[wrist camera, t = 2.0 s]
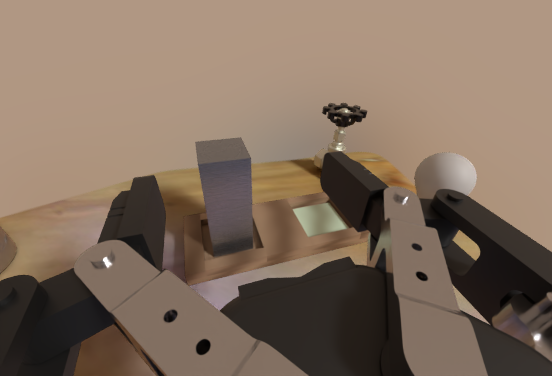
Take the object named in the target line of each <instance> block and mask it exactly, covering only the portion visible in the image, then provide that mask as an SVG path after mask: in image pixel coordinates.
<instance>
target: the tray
mask: <svg viewBox="0 0 552 376" xmlns="http://www.w3.org/2000/svg"><path fill="white" fill-rule="evenodd" d="M252 217H253V249H249V250H245V251H240V252H236V253H231V254H227V255H222V256H218V257H214V253H213V247H212V241H211V236H210V230H209V224H208V219H207V213H200V214H194V215H189V216H184V259H185V278H186V281H187V284H188V286H189V285H193V284H197V283H202V282H206V281H210V280H214V279H218V278H222V277H226V276H230V275H234V274H238V273H242V272H246V271H250V270H254V269H258V268H262V267H266V266H270V265H274V264H278V263H282V262H286V261H290V260H294V259H298V258H302V257H306V256H310V255H314V254H318V253H322V252H326V251H330V250H334V249H339V248H343V247H347V246H351V245H355V244H359V243H363V242H367V241H368V236H369V233H370V232H369V231H368V230H366V231H362V232H357V231H356V230H355V229H354V227H353V226H352V225H351V224H350V222H349V221H348V220H347V219H346V218H345V216H344V215H343V214H342V213H341V211H340V210H339V209H338V208H337V207H336V205H335V204H334V203H333V202H332V201H331V199H330V198H329V197H328V196H327V194H326V193H325V192H322V193H316V194H310V195H304V196H298V197H293V198H287V199H281V200H275V201H269V202H264V203H258V204H252Z"/></svg>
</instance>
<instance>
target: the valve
mask: <svg viewBox="0 0 552 376" xmlns="http://www.w3.org/2000/svg"><path fill="white" fill-rule="evenodd" d="M336 110H339V112H337V111H336ZM326 112H328V116H327V118H328V119H330V120H331V122H333V123H336V126H338V130H336V131H335V133H334V140H335V141H334V142H333V143H331V144H329V146H328V151H327V150H325V149H321V150H320V151H319V152H318V153H317V154H316V155H315V158H314V165H315V166H317V167H319V168H320V169H322V165H323V159H324V155H325V154H326V153H328V152H336V151H341V152H343V153H344V154H345V152H346V146H345V145H343V142H342V141H343V140H344V139H345V135H346V132H345V131H344V127H347V126H350V125H353V124H354V123H355V121H356V122H361V121H362V118H365V117H366V114H367V111H366V110H360V106H357V105H356V106H353V107H350V106H348V105H347V104H346V103H341V105H335V104H333V103H330V104H329V105H328V107H327V106H324V107H323V112H322V113H323V114H325V115H326ZM350 112H353V113H350ZM334 116H335V117H337V119H334ZM349 119H351V121H350V122H349Z"/></svg>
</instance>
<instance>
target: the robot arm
mask: <svg viewBox="0 0 552 376" xmlns="http://www.w3.org/2000/svg"><path fill="white" fill-rule="evenodd" d="M320 183H321V187H322V189H323V191H324V192H325V193H326V194H327V196H328V197H329V198H330V199H331V201H332V202H333V203H334V204H335V205H336V207H337V208H338V209H339V210H340V211H341V213H342V214H343V215H344V216H345V218H346V219H347V220H348V221H349V222H350V224H351V225H352V226H353V227H354V229H355V230H356V231H357V232H362V231H366V230H368V231H369V232H370V233H369V236H368V248H367V266H364V265H355V264H354V262H353V261H352V260H351V258H350V257H346V258H342V259H338V260H334V261H331V262H327V263H324V264H322V265H321V266H319V267H317V268H315V269H314V270H312V271H310V272H309V273H307V274H305V275H303V276H301V277H292V278H267V279H263V280H260V281H256V282H252V283H249V284H245V285H241V286H238V290H239V296H238V297H237V298H235V299H233V300H232V301H231V302H229V303H228V304H226V305H225V306H224V307H223V308H222V309H221V310H220V311H219V310H218V309H216V308H215V307H214V306H213V305H211V304H210V303H209V302H208V301H207V300H205V299H204V298H203V297H202V296H200V295H199V294H198V293H197V292H195V291H194V290H193V289H192V288H190V287H189V286H188V285H187V284H185V283H184V282H183V281H182V280H181V279H179V278H178V277H177V276H176V275H174V274H173V273H172V272H170V271H169V270H167V269H164V270H163V271H162V262H163V248H164V234H165V220H166V213H165V207H164V203H163V200H162V197H161V193H160V190H159V187H158V184H157V181H156V178H155V176H154V175H151V176H144V177H136V178H134V179H133V182H132V186H131V189H130V190H129V191H122V192H121V193H120V194H119V195H118V196H117V197H116V198H115V199H114V200H113V202H112V205H111V208H110V211H109V213H108V216H107V217H108V218H107V219H106V221H105V224H104V227H103V229H102V232H101V235H100V238H99V240H98V243H97V244H96V245H94V246H92V247H91V248H89V249H87V250H86V251H85V252H84V253H82V254H81V255H80V257H79V258H78V259H77V261H76V262H75V265H74V268H72V269H71V270H68V271H66V272H64V273H61V274H59V275H57V276H54V277H52V278H49V279H47V280H45V281H42V282H40V283H39V282H38V281H37V280H36V279H35V278H34V277H32V276H29V275H18V276H13V277H10V278H7V279H4V280H1V281H0V376H73V375H74V370H75V366H76V362H77V358H78V354H79V350H80V346H81V342H82V341H83V340H85V339H87V338H89V337H91V336H92V335H94V334H96V333H98V332H100V331H101V330H103V329H105V328H107V327H109V326H111V325H112V324H113V325H114V326H115V327H116V328H117V329H118V331H119V332H120V333H121V334H122V335H123V336H124V338H125V339H126V340H127V341H128V342H129V344H130V345H131V346H132V347H133V348H134V349H135V351H136V352H137V353H138V354H139V355H140V356H141V358H142V359H143V360H144V361H145V363H146V364H147V365H148V366H149V368H150V369H151V370H152V371H153V373H154V374H155V375H156V376H552V252H551V251H549V250H547V249H546V248H545V247H543V246H542V245H540V244H539V243H537V242H536V241H534V240H533V239H531V238H530V237H528V236H527V235H525V234H524V233H522V232H520V231H519V230H518V229H516V228H515V227H513V226H512V225H510V224H509V223H507V222H506V221H504V220H503V219H501V218H500V217H498V216H497V215H495V214H494V213H492V212H491V211H489V210H488V209H486V208H485V207H483V206H482V205H480V204H479V203H477V202H476V201H474V200H473V199H471V198H470V197H468V196H467V195H465V194H463V193H461V192H458V191H455V190H451V189H439V190H437V191H436V193H435V195H434V197H433V199H423V198H419V197H418V196H417V195H416V194H415V193H413V192H412V191H410V190H407V189H405V188H401V187H388V186H387V185H386V184H385V183H384V182H382V181H381V180H380V179H379V178H377V177H376V176H375V175H374V174H372V173H371V172H370V171H369V170H366V168H365V167H364V166H363V165H362V164H360V163H358V162H356V161H354V160H352V159H350V158H349V157H348V156H346V155H345V154H344V153H343V152H341V151H336V152H328V153H326V154H325V155H324V159H323V165H322V172H321V178H320ZM459 230H461V231H462V232H463V233H464V234H465V235H467V236H468V237H469V238H470V239H472V240H473V241H474V242H475V243H476V244H477V245H478V246H479V248H480V256H479V258H478V259H477V260H476V261H475V260H474V259H473V258H472V257H471V256H469V255H468V254H467V253H466V252H465V251H464V250H463V249H461V248H460V247H459V246H458V245H457V244H456V243H455V242H454V241H452V240H453V238H454V237H455V235H456V234H457V232H458V231H459ZM16 250H17V247H16V244H15V243H14V242H13V240H12V239H11V238H10V237H9V236H8V235H7V234H6V232H5V231H4V230H3V229H2V228H1V227H0V273H1V272H2V271H3V270H4V269H5V268H7V266H8V265H9V264H10V263H11V261H12V260H13V258H14V256H15V254H16ZM452 284H453V286H454V287H455V288H456V289H457V290H458V291H459V292H460V293H461V294H462V295H463V296H464V297H465V298H466V299H467V300H468V301H469V302H470V303H471V305H472V306H473V307H474V308H475V309H476V310H477V311H478V312H479V313H480V314H481V315H482V316H483V317H484V318H485V319H486V320H487V321H488V323H489V324H490V325H489V324H487V323H485V322H483V321H481V320H479V319H477V318H475V317H473V316H471V315H469V314H467V313H465V312H463V311H461V310H460V309H459V307H458V304H457V300H456V296H455V293H454V289H453V286H452Z"/></svg>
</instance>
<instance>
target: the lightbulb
mask: <svg viewBox="0 0 552 376" xmlns="http://www.w3.org/2000/svg"><path fill="white" fill-rule="evenodd" d="M476 178H477V176H476V171H475V169H474V166H473V165H472V164H471V162H470V161H468V160H467V159H466V158H464V157H463V156H461V155H458V154H455V153H437V154H434V155H432V156H430V157H428V158H426V159H424V160H423V161H422V162H421V163H420V165H419V166H418V167H417V169H416V172H415V178H414V179H415V186H416V190H417V196H418V197H419V198H423V199H433V197H434V195H435V193H436V191H437V190H439V189H451V190H455V191H458V192H461V193H463V194H465V195H468V194H469V193H470V192H471V191H472V189H473V188H474V186H475V183H476Z"/></svg>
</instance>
